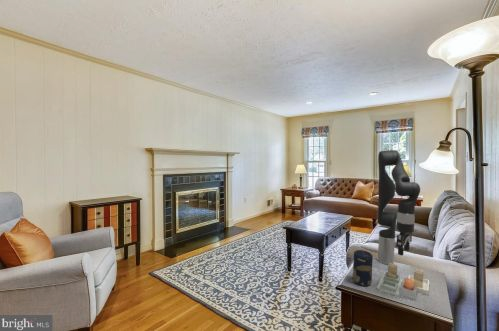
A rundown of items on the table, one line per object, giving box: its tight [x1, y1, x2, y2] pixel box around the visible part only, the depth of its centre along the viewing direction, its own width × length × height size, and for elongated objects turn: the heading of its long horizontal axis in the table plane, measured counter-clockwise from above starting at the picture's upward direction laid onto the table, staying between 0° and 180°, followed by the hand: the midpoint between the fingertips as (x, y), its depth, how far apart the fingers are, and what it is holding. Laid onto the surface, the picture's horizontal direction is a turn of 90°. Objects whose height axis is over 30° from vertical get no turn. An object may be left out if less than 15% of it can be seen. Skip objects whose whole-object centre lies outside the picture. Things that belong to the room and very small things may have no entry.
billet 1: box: [387, 263, 398, 279], centre depth 138 cm, size 4×4×8 cm
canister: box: [352, 249, 373, 287], centre depth 136 cm, size 10×10×18 cm
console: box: [399, 281, 418, 301], centre depth 125 cm, size 7×7×4 cm
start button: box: [403, 277, 414, 290], centre depth 125 cm, size 4×4×6 cm
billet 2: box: [413, 268, 424, 288], centre depth 133 cm, size 4×4×8 cm
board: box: [376, 271, 404, 297], centre depth 134 cm, size 19×10×3 cm, turn 142°
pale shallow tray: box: [407, 274, 430, 297], centre depth 133 cm, size 14×10×2 cm
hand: (403, 252), depth 125 cm, fingers open, 8 cm apart
